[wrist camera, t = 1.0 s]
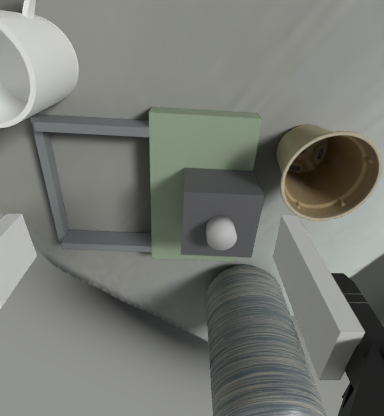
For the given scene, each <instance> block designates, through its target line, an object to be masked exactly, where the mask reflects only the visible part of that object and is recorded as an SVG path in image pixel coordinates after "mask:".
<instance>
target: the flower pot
mask: <svg viewBox="0 0 384 416" xmlns="http://www.w3.org/2000/svg"><path fill="white" fill-rule="evenodd" d="M321 149H323V152H322V155H321V157H320V158H319V159H318V158H317V156H318V154H319V153H320V150H321ZM303 150H305V151H304V152H303V153H302V151H303ZM276 158H277V162H278V164H279V167H280V171H281V174H282V177H281V182H280V190H281V195H282V198H283V201H284V203H285V204H286V206H287V207H288V208H289V210H290V211H292V212H293V213H294V214H296V215H297V216H299V217H301V218H304V219H307V220H313V221H326V220H330V219H335V218H339V217H342V216H344V215H346V214H348V213H350V212H352V211H354V210H355V209H357V208H358V207H359V206H361V205H362V204H363V203H364V202H365V201H366V200H367V199H368V198H369V197H370V196H371V194H372V193H373V191H374V190H375V188H376V186H377V184H378V182H379V180H380V177H381V173H382V157H381V154H380V152H379V149H378V148H377V146H376V145H375V144H374V143H373V142H372V141H371V140H370V139H368V138H367V137H365V136H363V135H361V134H358V133H355V132H349V131H337V132H332V131H329V130H326V129H323V128H321V127H318V126H315V125H311V124H305V125H300V126H297V127H295V128H294V129H292V130H290V131H289V132H287V133H286V134H285V135H284V136H283V137H282V138H281V140H280V142H279V144H278V146H277V151H276ZM292 165H293V166H298V167H299V169H298V170H294V169H291V168H290V167H291V166H292Z"/></svg>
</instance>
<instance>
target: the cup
mask: <svg viewBox="0 0 384 416" xmlns="http://www.w3.org/2000/svg"><path fill="white" fill-rule="evenodd" d="M35 2H36V0H24V5H23V10H22V13H17V12H10V11H3V10H0V128H5V127H9V126H12V125H15V124H17V123H19V122H21V121H23V120H25V119H27V118H29V117H31V116H33V115H35V114H37V113H38V112H40V111H42V110H44V109H46V108H48V107H50V106H52V105H54V104H56V103H58V102H60V101H62V100H63V99H65V98H66V97H68V96H69V95H70V94H71V93H72V91H73V90H74V88H75V86H76V84H77V80H78V73H79V68H78V60H77V57H76V53H75V51H74V49H73V46H72V44H71V43H70V41H69V40H68V38H67V37H66V35H65V34H64V33H63V32H62V31H61V30H60V29H59V28H58V27H57V26H55V25H54V24H53V23H52V22H50V21H48V20H46V19H45V18H42V17H39V16H36V15H34V12H35Z"/></svg>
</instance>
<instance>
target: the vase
mask: <svg viewBox="0 0 384 416" xmlns="http://www.w3.org/2000/svg"><path fill="white" fill-rule="evenodd" d="M206 310H207V326H208V342H209V358H210V375H211V391H212V406H213V416H326V413H325V410H324V407H323V405H322V402H321V399H320V396H319V394H318V391H317V388H316V385H315V383H314V380H313V377H312V374H311V371H310V368H309V366H308V363H307V360H306V357H305V355H304V352H303V349H302V346H301V344H300V341H299V338H298V335H297V332H296V330H295V327H294V324H293V321H292V318H291V316H290V313H289V310H288V307H287V305H286V302H285V299H284V296H283V293H282V291H281V288H280V285H279V283H278V282H277V280H276V279H275V278H274V277H273V276H272V275H271V274H269V273H268V272H266V271H264V270H262V269H260V268H257V267H255V266H251V265H244V264H243V265H235V266H231V267H229V268H227V269H225V270H223V271H222V272H221V273H220V274H219V275H218V276H217V277H215V278H214V279H213V281H212V282H211V283H210V285H209V287H208V289H207V293H206Z"/></svg>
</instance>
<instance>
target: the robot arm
mask: <svg viewBox="0 0 384 416" xmlns="http://www.w3.org/2000/svg"><path fill="white" fill-rule="evenodd" d="M36 256H37V254H36V252H35V249H34V246H33V243H32V241H31V238H30V235H29V232H28V229H27V227H26V224H25V221H24V218H23V216H22V214H6V215H5V216H4V217H3V218H2V219H1V220H0V309H1V307H2V306H3V304H4V303H5V301H6V300H7V298H8V297H9V296H10V294H11V293H12V291H13V290H14V288H15V287H16V285H17V284H18V282H19V281H20V280H21V278H22V277H23V275H24V274H25V272H26V271H27V269H28V268H29V267H30V265H31V264H32V262H33V261H34V259H35V257H36ZM273 258H274V260H275V263H276V266H277V268H278V271H279V274H280V277H281V279H282V282H283V285H284V287H285V290H286V293H287V295H288V298H289V301H290V303H291V306H292V309H293V312H294V314H295V317H296V320H297V322H298V325H299V328H300V330H301V333H302V336H303V338H304V341H305V344H306V347H307V349H308V352H309V354H310V357H311V360H312V363H313V365H314V368H315V371H316V373H317V376H318V379H319V380H340V379H341V377H342V375H343V373H344V372H346V374H347V376H348V378H349V380H350V384H349V385H348V387H347V389H346V391H345V392H344V394H343V396H342V398H343V402H342V405H341V408H340V411H339V414H338V416H384V327H383V326H382V324H381V323H380V321H379V320H378V318H377V316H376V315H375V313H374V312H373V311H372V309H371V307H370V306H369V304H367V301H366V300H365V298H364V297H363V295H361V292H360V291H359V289H358V288H357V286H356V285H355V283H354V282H353V281H352V280H351V279H349V278H348V277H347V276H346V275H345V274H343V273H330V271H329V270H328V268H327V266H326V264H325V263H324V261H323V259H322V258H321V256H320V254H319V252H318V251H317V249H316V247H315V246H314V244H313V242H312V241H311V239H310V237H309V235H308V234H307V232H306V230H305V229H304V227H303V225H302V223H301V222H300V220H299V218H298V217H297V215H282V216H281V221H280V226H279V231H278V236H277V240H276V245H275V250H274V255H273Z"/></svg>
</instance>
